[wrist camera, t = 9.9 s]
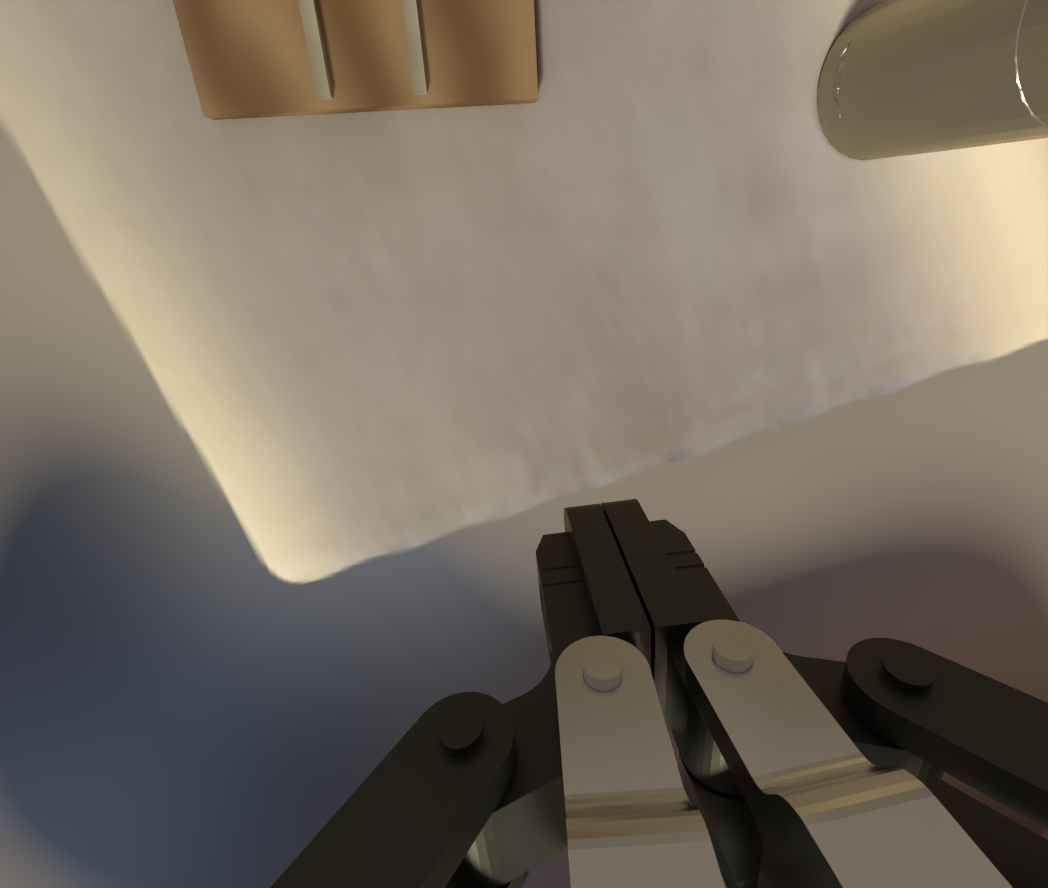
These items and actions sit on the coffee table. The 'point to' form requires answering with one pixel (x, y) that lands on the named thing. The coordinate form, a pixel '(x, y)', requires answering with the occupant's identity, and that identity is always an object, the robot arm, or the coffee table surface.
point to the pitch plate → (357, 55)
